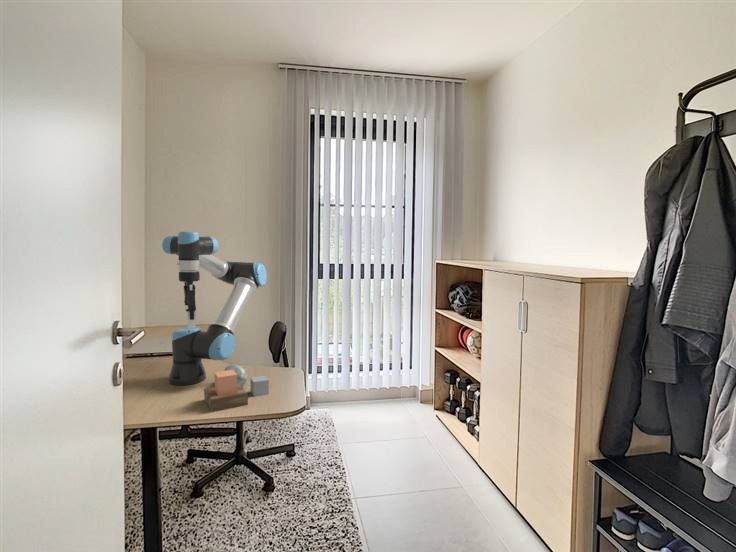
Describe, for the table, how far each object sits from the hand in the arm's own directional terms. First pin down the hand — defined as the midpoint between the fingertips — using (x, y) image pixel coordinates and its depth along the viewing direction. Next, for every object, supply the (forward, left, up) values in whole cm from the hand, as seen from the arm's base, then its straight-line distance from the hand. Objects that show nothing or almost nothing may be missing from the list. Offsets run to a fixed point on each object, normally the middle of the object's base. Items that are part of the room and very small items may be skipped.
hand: (190, 324), depth 169 cm
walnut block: (+14, +11, -29) cm, 34 cm away
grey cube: (+9, +25, -29) cm, 39 cm away
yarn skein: (-5, +18, -29) cm, 34 cm away
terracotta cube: (+14, +11, -24) cm, 30 cm away
